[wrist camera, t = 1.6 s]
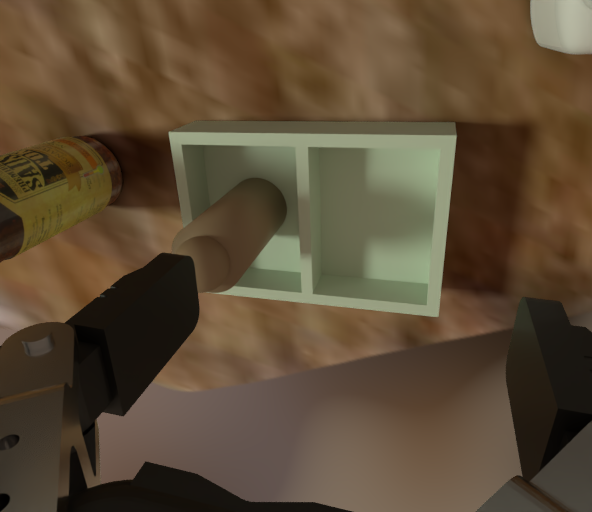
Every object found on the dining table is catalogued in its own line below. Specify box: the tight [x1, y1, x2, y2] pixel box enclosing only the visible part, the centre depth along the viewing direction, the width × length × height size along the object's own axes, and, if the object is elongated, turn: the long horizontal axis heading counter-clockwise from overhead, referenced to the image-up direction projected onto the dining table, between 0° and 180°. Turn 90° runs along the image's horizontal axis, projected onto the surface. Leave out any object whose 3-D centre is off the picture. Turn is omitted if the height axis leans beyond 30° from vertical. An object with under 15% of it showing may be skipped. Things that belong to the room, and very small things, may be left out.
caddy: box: [169, 121, 457, 317], centre depth 30 cm, size 12×18×12 cm, turn 92°
